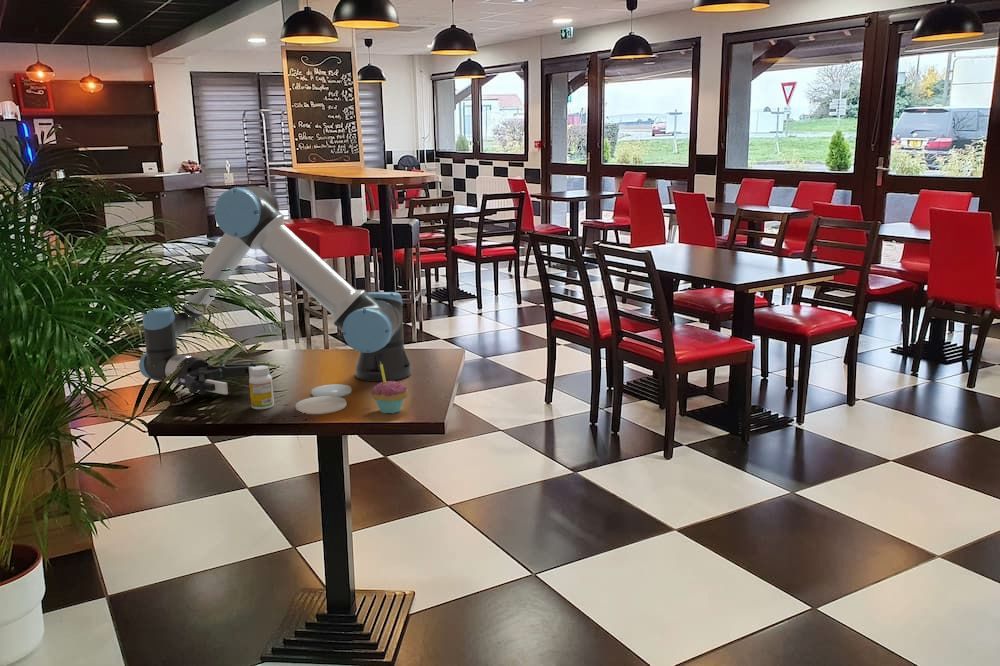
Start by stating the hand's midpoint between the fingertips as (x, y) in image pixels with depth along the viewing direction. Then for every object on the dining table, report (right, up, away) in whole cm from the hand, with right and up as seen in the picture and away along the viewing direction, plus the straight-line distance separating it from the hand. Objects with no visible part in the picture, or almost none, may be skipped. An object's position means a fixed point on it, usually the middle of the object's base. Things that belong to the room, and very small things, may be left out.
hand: (248, 381), depth 197 cm
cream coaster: (+18, -6, -1) cm, 19 cm away
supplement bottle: (+4, -6, 0) cm, 7 cm away
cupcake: (+35, -7, -5) cm, 36 cm away
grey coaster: (+18, -3, +10) cm, 21 cm away
